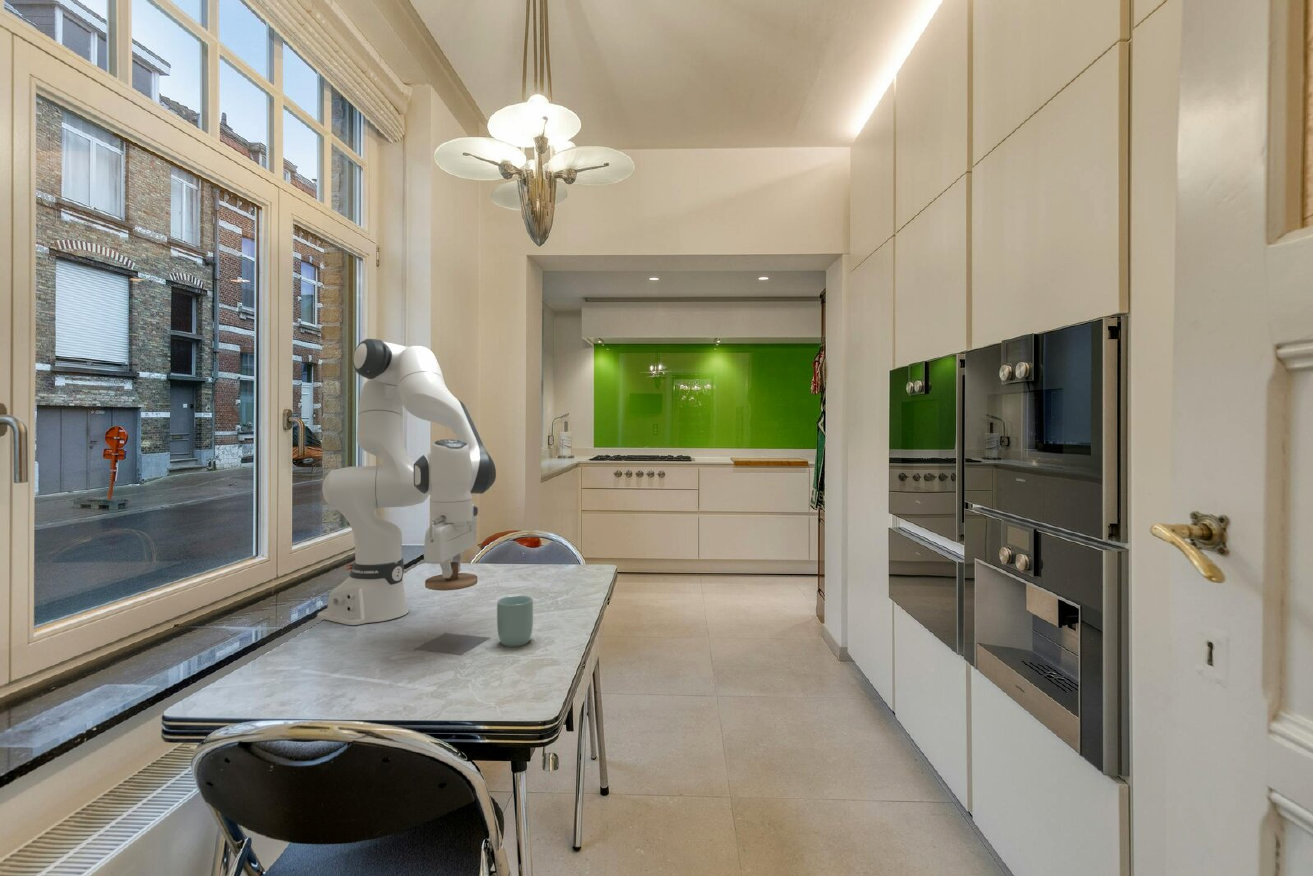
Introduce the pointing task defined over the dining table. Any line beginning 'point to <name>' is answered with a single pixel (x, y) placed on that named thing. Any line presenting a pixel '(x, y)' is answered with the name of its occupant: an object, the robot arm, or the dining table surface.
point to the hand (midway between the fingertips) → (451, 574)
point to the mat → (452, 643)
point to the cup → (515, 620)
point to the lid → (451, 580)
